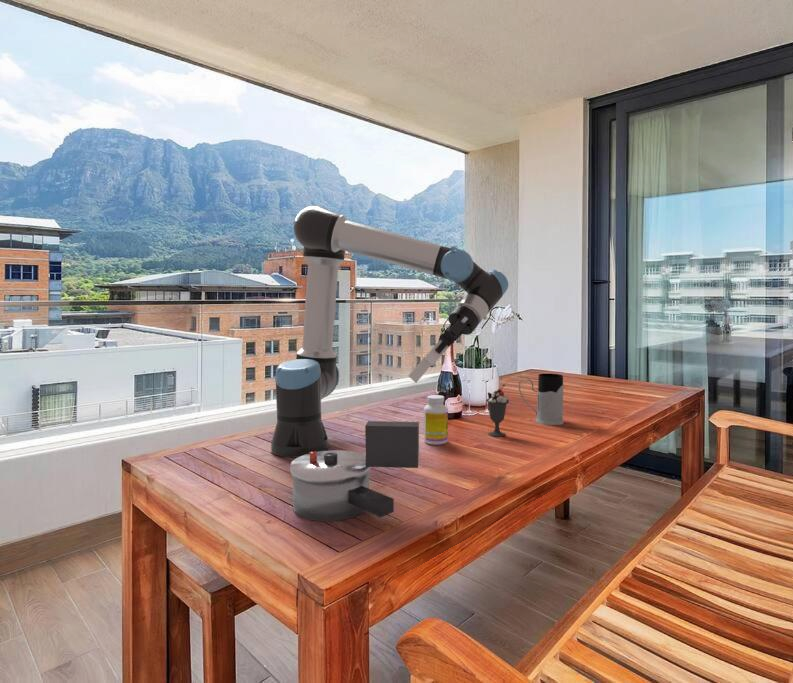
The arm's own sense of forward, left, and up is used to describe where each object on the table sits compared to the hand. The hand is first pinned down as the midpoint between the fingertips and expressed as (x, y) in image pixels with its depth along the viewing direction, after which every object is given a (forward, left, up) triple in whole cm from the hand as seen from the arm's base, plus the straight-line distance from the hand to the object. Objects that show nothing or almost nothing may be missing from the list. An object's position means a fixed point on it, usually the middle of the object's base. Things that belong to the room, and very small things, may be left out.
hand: (419, 371), depth 125 cm
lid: (+9, -29, -15) cm, 34 cm away
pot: (+9, -32, -22) cm, 40 cm away
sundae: (+1, +32, -23) cm, 39 cm away
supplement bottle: (-7, +14, -23) cm, 28 cm away
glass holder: (+2, +55, -23) cm, 60 cm away
